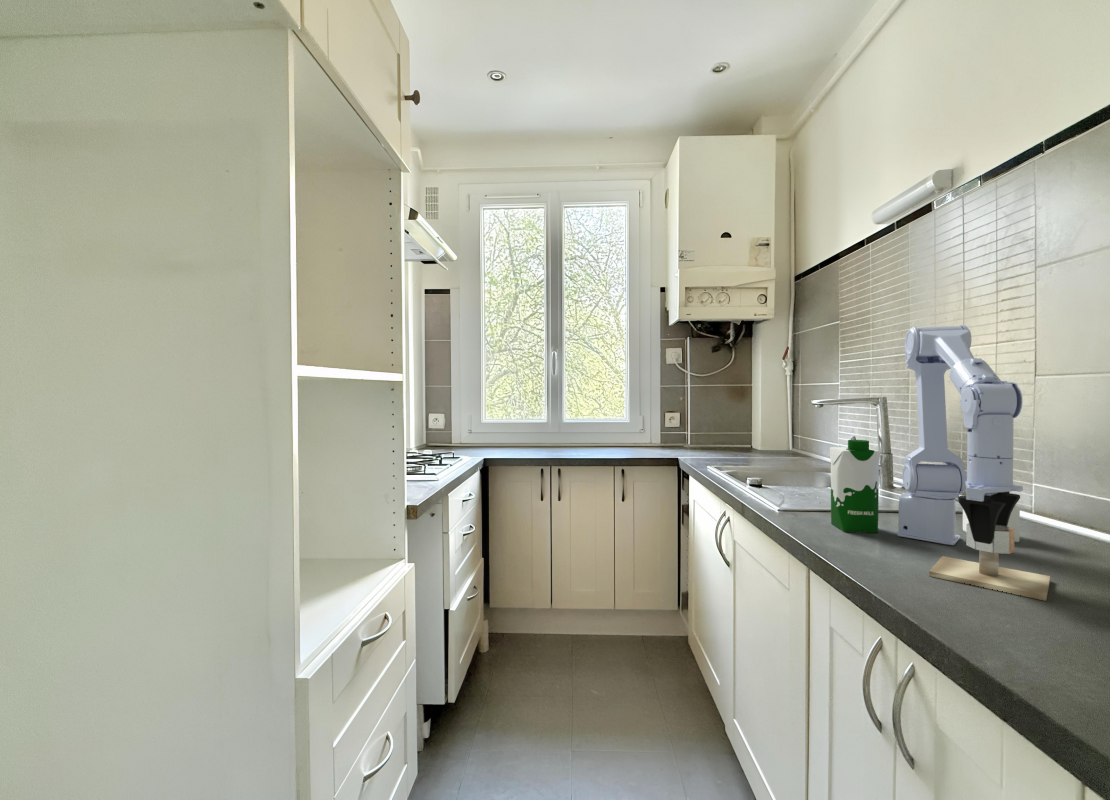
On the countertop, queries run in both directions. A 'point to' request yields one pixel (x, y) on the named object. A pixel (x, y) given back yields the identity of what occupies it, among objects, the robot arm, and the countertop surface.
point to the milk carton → (855, 487)
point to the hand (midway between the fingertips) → (989, 539)
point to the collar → (994, 540)
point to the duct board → (992, 575)
